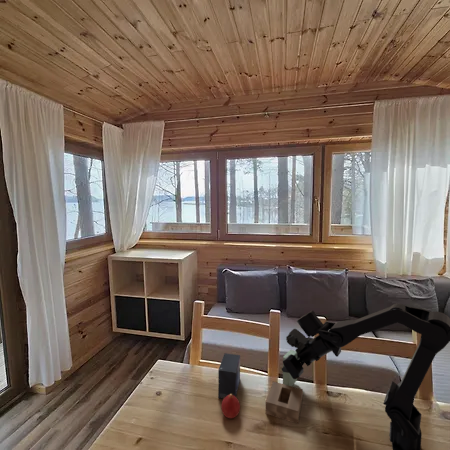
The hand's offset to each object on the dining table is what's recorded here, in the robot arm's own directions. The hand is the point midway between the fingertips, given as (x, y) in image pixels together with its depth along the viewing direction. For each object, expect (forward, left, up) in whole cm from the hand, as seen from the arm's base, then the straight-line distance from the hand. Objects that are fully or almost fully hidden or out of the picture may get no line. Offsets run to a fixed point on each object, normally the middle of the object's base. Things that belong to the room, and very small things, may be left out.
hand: (286, 365), depth 96 cm
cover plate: (-1, 0, -6) cm, 6 cm away
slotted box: (-2, +10, -8) cm, 13 cm away
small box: (+18, +10, -9) cm, 22 cm away
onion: (+12, +21, -8) cm, 26 cm away
